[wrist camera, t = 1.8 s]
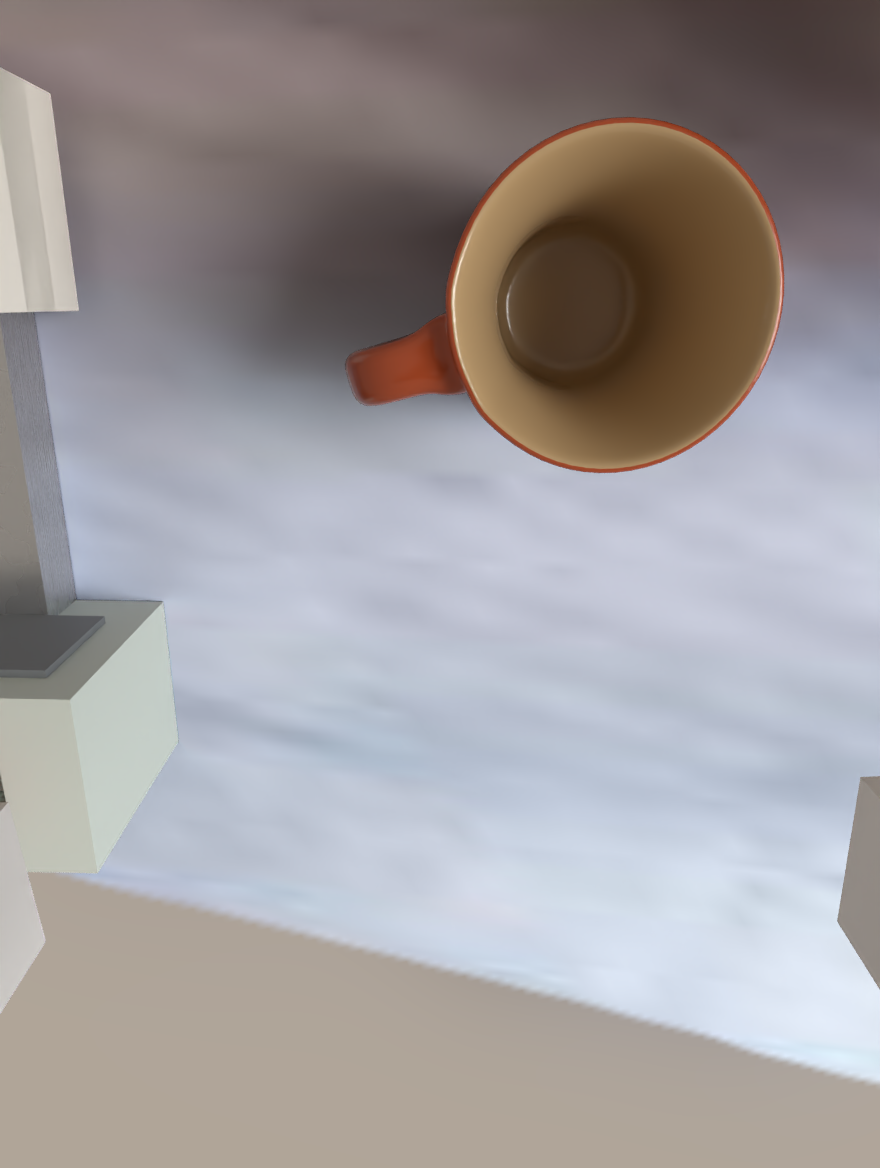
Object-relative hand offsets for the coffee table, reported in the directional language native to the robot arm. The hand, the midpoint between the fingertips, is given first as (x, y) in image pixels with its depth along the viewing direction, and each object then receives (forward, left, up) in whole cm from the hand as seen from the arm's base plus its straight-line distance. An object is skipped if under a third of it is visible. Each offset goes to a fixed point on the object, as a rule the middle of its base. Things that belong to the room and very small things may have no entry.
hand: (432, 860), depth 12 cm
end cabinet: (+8, -17, -22) cm, 29 cm away
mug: (-8, +3, -22) cm, 23 cm away
